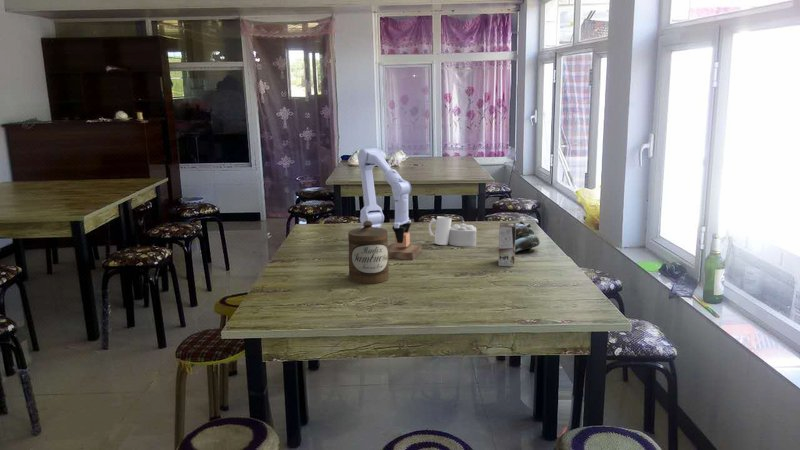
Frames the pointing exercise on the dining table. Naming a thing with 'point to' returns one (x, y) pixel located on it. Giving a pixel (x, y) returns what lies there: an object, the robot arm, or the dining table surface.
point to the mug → (441, 230)
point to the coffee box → (507, 244)
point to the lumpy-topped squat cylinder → (462, 235)
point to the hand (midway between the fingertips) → (401, 241)
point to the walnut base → (404, 251)
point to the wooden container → (368, 254)
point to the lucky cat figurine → (525, 237)
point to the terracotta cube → (405, 240)
